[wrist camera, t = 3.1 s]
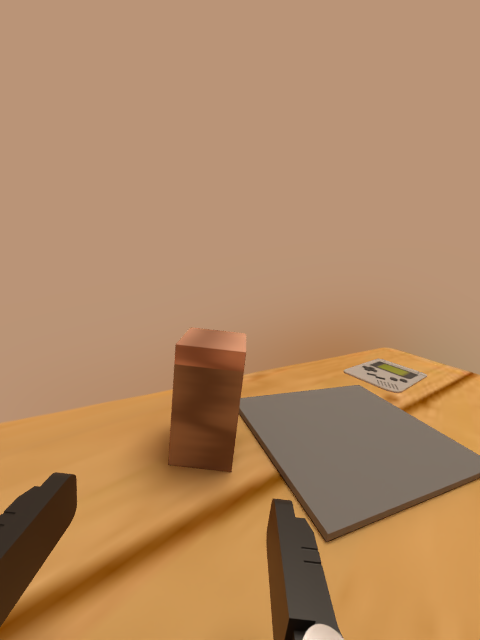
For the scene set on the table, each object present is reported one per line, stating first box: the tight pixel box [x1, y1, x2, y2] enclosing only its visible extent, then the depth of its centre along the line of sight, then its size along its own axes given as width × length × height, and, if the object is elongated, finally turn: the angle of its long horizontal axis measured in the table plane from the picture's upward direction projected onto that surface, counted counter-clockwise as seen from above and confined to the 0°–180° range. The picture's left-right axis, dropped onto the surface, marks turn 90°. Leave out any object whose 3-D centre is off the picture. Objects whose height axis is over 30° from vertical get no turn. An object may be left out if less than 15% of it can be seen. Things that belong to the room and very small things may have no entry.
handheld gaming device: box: [344, 359, 427, 393], centre depth 46 cm, size 9×1×15 cm
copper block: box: [168, 327, 246, 472], centre depth 22 cm, size 5×5×10 cm
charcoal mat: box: [239, 385, 480, 542], centre depth 27 cm, size 20×16×1 cm
